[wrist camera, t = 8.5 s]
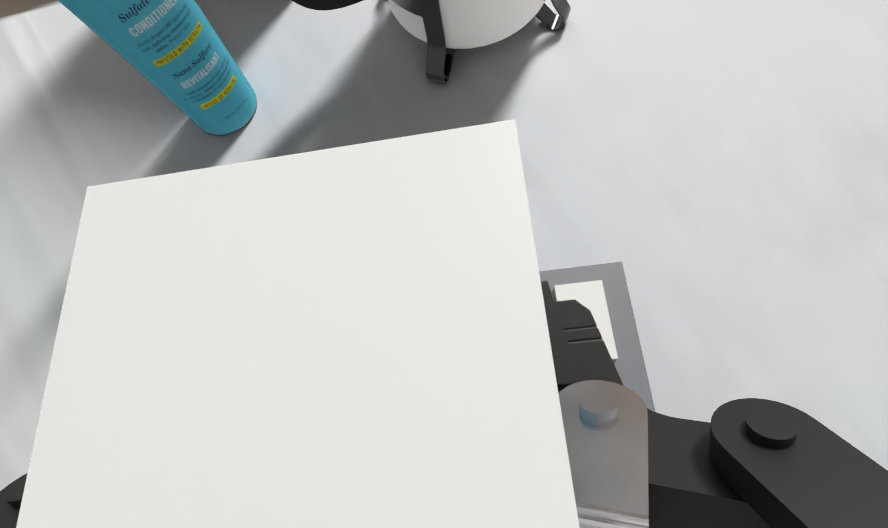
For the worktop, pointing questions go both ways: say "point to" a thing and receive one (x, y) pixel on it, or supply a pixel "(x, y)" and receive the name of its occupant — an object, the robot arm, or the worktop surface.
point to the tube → (175, 56)
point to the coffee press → (460, 23)
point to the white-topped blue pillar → (307, 348)
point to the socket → (607, 316)
